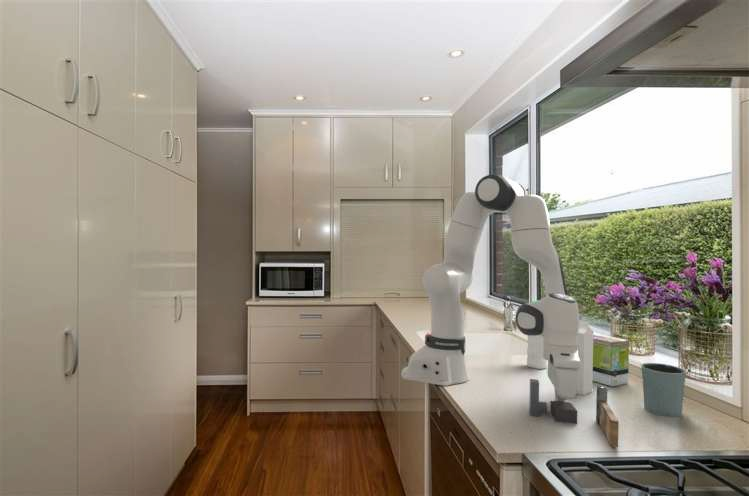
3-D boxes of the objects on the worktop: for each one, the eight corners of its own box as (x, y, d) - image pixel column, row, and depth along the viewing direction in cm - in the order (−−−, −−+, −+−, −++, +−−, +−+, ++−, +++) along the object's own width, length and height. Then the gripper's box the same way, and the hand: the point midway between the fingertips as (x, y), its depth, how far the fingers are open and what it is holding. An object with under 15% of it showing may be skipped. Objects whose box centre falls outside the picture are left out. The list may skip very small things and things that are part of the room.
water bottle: (522, 365, 157) (524, 300, 157) (536, 363, 159) (538, 299, 160) (536, 370, 150) (538, 302, 150) (551, 368, 153) (552, 301, 153)
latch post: (530, 415, 107) (531, 381, 107) (528, 411, 110) (529, 377, 110) (548, 417, 106) (548, 383, 106) (546, 413, 109) (546, 379, 109)
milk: (583, 395, 124) (584, 323, 124) (563, 389, 129) (565, 320, 129) (592, 391, 128) (594, 321, 128) (573, 386, 133) (574, 318, 133)
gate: (599, 422, 103) (599, 400, 103) (605, 423, 102) (606, 400, 102) (610, 445, 90) (611, 420, 90) (618, 447, 90) (618, 421, 90)
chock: (556, 422, 104) (556, 408, 104) (550, 413, 110) (550, 400, 110) (577, 424, 103) (577, 410, 103) (569, 415, 109) (570, 402, 109)
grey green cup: (684, 409, 114) (684, 366, 114) (686, 421, 106) (687, 375, 106) (640, 401, 120) (641, 360, 120) (640, 412, 111) (641, 368, 112)
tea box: (629, 383, 137) (630, 339, 137) (611, 387, 132) (612, 342, 132) (587, 371, 150) (588, 331, 150) (569, 374, 145) (570, 333, 146)
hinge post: (597, 423, 103) (598, 388, 103) (594, 419, 105) (595, 385, 106) (607, 424, 103) (608, 389, 103) (605, 421, 105) (605, 386, 105)
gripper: (542, 344, 122) (541, 390, 122) (555, 362, 103) (554, 417, 102) (565, 346, 121) (564, 393, 121) (582, 364, 101) (581, 420, 101)
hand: (559, 404), depth 111 cm, fingers closed
